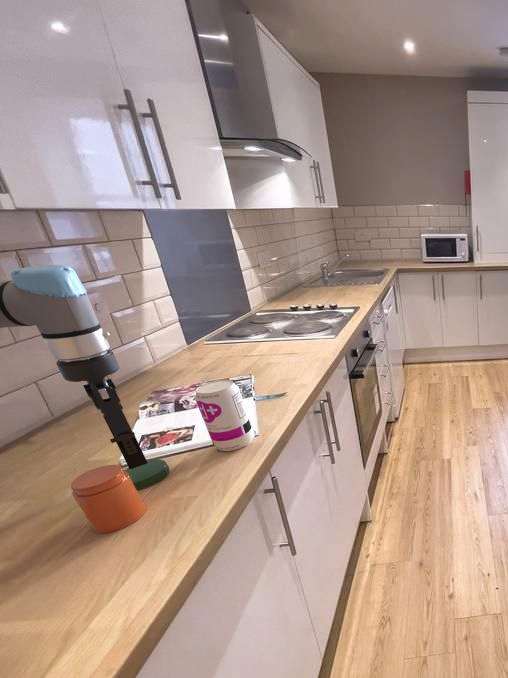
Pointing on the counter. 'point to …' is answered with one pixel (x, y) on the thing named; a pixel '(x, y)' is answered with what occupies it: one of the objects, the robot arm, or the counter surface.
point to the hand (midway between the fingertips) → (131, 452)
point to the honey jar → (108, 498)
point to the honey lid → (148, 473)
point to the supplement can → (224, 415)
